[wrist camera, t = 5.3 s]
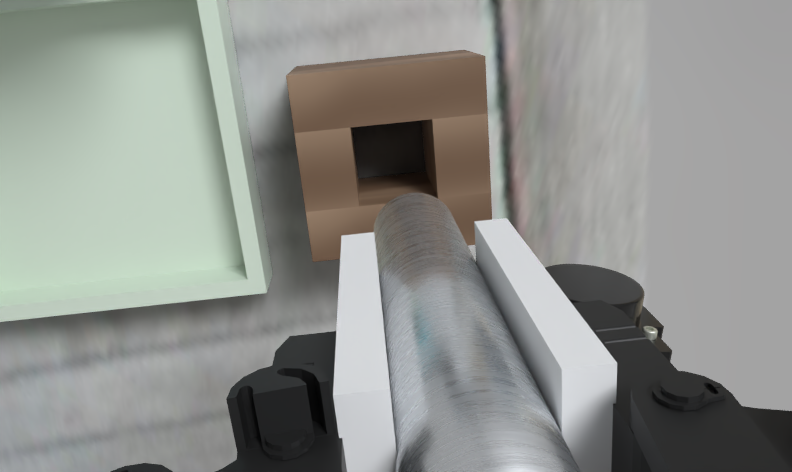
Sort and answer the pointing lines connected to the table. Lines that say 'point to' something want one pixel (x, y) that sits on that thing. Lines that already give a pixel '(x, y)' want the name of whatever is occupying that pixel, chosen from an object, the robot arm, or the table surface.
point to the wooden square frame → (383, 104)
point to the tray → (124, 158)
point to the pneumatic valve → (609, 295)
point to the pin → (454, 355)
